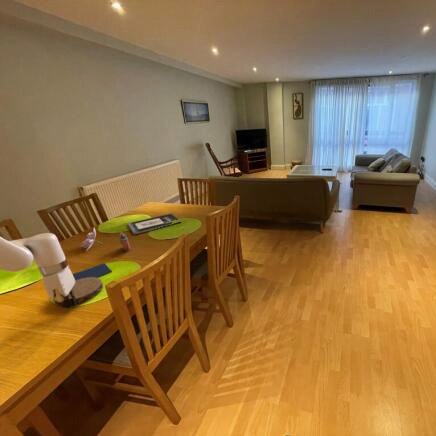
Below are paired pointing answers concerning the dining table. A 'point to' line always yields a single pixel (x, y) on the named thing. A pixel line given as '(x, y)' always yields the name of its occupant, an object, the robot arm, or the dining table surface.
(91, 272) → the cloth
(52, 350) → the dining table surface
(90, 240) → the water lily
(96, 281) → the brown round disc
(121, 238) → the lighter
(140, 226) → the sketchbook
